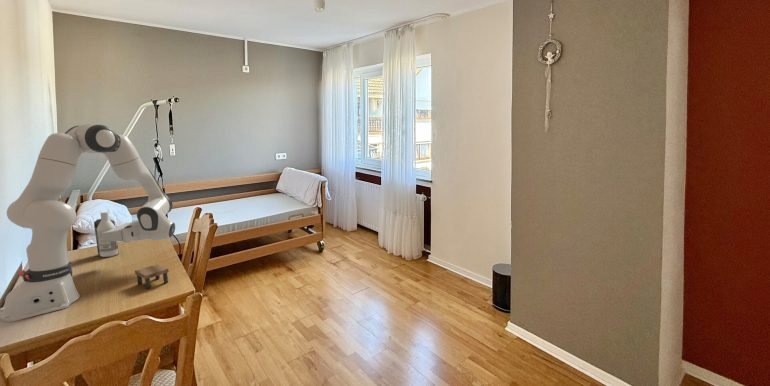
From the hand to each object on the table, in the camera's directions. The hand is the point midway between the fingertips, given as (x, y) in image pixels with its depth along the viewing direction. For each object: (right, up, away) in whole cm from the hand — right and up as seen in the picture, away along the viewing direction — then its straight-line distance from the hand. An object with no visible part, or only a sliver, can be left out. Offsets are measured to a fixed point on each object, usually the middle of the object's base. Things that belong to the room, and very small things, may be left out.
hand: (104, 231), depth 174 cm
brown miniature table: (+31, -20, -14) cm, 40 cm away
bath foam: (+1, -11, +2) cm, 11 cm away
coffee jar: (-12, -14, +19) cm, 27 cm away
